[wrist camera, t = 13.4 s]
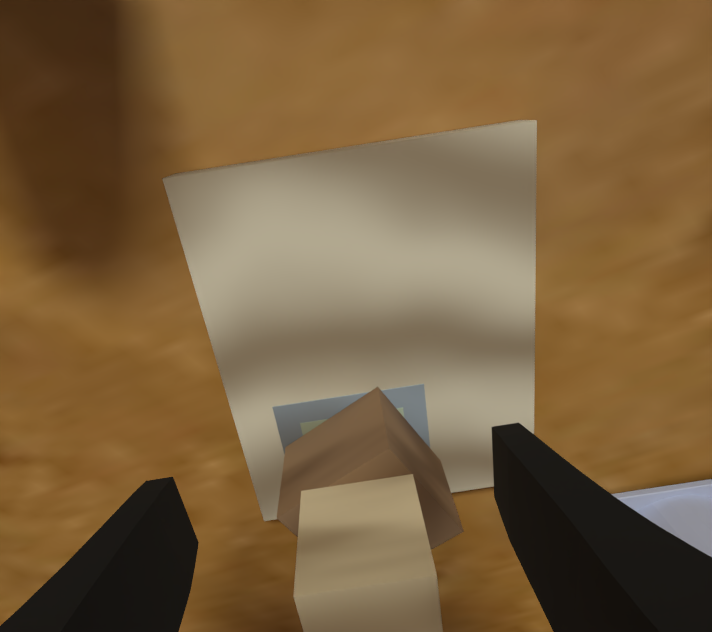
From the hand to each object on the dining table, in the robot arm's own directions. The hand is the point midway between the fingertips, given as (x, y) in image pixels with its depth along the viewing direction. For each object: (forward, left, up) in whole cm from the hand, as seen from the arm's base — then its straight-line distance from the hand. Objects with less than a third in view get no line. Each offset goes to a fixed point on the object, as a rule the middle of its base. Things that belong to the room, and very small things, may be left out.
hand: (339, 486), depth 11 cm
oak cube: (-6, 0, -5) cm, 8 cm away
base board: (-2, -2, -10) cm, 11 cm away
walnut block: (-6, 0, -9) cm, 11 cm away
